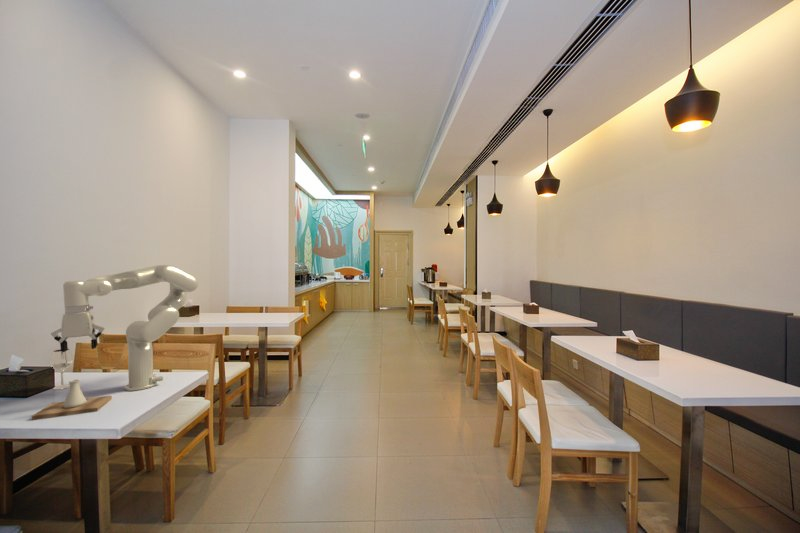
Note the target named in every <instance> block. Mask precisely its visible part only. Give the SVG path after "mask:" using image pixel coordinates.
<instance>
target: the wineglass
mask: <svg viewBox="0 0 800 533" xmlns="http://www.w3.org/2000/svg"><path fill="white" fill-rule="evenodd" d="M73 363H74V357H73V354H72V351H71V349H70V348H68V350H67V351H65V352H62V350H61V348H59V349H55V350H53V351H52V354H51V357H50V361H49V365H50V367H51V368H52V367H53V368H52V369H54V370H55V371H58V372H59V373H60V385H57V386H55V387H53V388H52V389H53V390H62V389H67V388H68V389H69V388H70V384H64V372H65V371H66V370H67V369H68V368H70V367H71V366H72V364H73Z"/></svg>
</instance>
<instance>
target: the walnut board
mask: <svg viewBox="0 0 800 533" xmlns="http://www.w3.org/2000/svg"><path fill="white" fill-rule="evenodd" d="M112 397H113V396H112V395H106V396H104V395H103V396H98V397H89V398H85V399H86V400H87V403H85V404H83V405H80V406H76V407H71V408H64V407H62V406H63V403H64V401H65V400H64V401H56V402H51V403H50V404H48V405H47V406H45V407H44V408H42V409H41V410H39V411H37V412H36V413H34V414H33V415H31V421H34V420H35V421H36V420H42V419H49V418H50V419H51V418H57V417H65V416H73V415H80V414H86V413H95V412H98V411H99V410H100V409H101V408H103V407H104V406H105V405H106V404H108V403H109V402H110V401H111V400H112Z"/></svg>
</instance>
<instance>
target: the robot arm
mask: <svg viewBox="0 0 800 533" xmlns="http://www.w3.org/2000/svg"><path fill="white" fill-rule="evenodd" d="M161 282H162V283H164V282H165V283H166V282H167V283H168V284H169V292H168V294H167V296H166V297H165V298H164V299H162V301H161V302H159V303H158V304H156V305H155V306H154V307H152V308H151V309H150V310H149V312H148V313H147V319H148V321H146V320H137V321H133V322H131V323H130V324H129V325H128V326H127V328H126V330H125V339H126V343H127V355H128V356H127V358H128V360H127V365H128V366H127V367H128V384H126V385H125V386H124V390H125V391H132V392H133V391H142V390H146V389H149V388H153V387H155V386H157V384H158V382H163V381H164V376H162V375H159V376H156V374H155V373H154V365H153V364H154V361H153V360H154V358H153V357H154V355H153V352H154V350H153V342H155V341H158V340H159V339H160V338H161V337H162V336H163V335H165V334H166V333H167V332H168V331H169V330H170V329H171V328H173V326H174V325H176V324H177V322H178V320H179V319H180V311H179V310H180V309H181V308H182V307H183V306H184V305H185V302H186V299H187V293H191V292H194V291H196V290H197V289H198V286H199V282H198V280H197V278H196V277H195V276H193V275H192V274H189V273H187V272H186V271H184V270H182V269H180V268H178V267H176V266H174V265H172V264H159V265H158V264H157V265H153V266H149V267H145V268H138V269H134V270H129V271H123V272H120V273H119V272H118V273H114V274H108V275H103V276H98V277H93V278H90V279H89V278H88V279H87V280H69V281H65V282H64V283H63V302H64V313H63V314H62V317H61V318H62V319H61V327H60V328H59V329H57V330H55V331H53V332H51V333H50V335H51V336H52V338H53V339H54V340H56V342H58V343H59V345H60V349H61V350H62V352H65V351H67V350H68V349H69V347H68V341H67V339H69V338H78V337H87V336H89V337H90V339H91V340H90V342H91V343H90V344H91V349H92V350H94V349H96V348H97V347H98V344H99V343H98V338H99V337H100V336H101V335H103V332H104V331H105V327H103V326H99V325H96V322H95V319H94V315H93V314H94V313H93V312H92V311H91V310H93V309H94V306H93V305H90V304H89V302H90V301H89V297H103V296H106V295H108V294H110V293H112V292H113V291H117V290H118V291H119V290H130V289H137V288H142V287H146V286H149V285H154V284H158V283H161ZM96 331H98V332H97V333H96ZM59 333H60V334H61V336H60V335H59Z"/></svg>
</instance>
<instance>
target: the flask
mask: <svg viewBox="0 0 800 533" xmlns="http://www.w3.org/2000/svg"><path fill="white" fill-rule="evenodd" d="M80 382H81V380H80V379H79V378H78V379H72V380H69V381H68V383H69V385H70V387H68V392H67V394H66V397H65V399H64V403H63V406H62V407H64V408H71V407H76V406H80V405H83V404H85V403H87V400H86V399H87V398H86V397H85V396H84V394H83V391H82V389H81V387H80Z"/></svg>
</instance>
